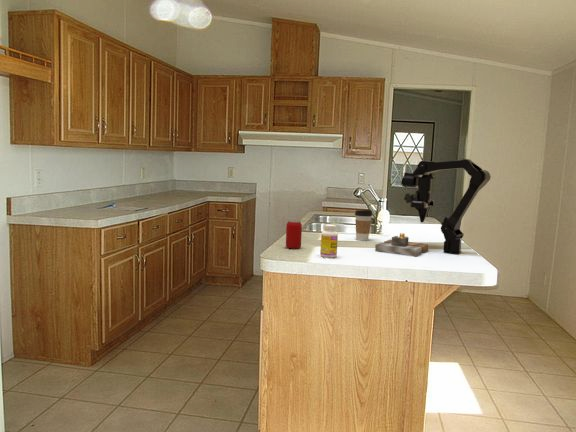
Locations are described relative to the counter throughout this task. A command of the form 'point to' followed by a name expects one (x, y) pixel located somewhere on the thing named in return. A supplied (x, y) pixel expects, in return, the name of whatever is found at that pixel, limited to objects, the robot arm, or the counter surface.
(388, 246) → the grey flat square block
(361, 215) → the coffee cup
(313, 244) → the counter surface
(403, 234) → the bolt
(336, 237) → the supplement bottle
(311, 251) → the counter surface
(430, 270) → the counter surface
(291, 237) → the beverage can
